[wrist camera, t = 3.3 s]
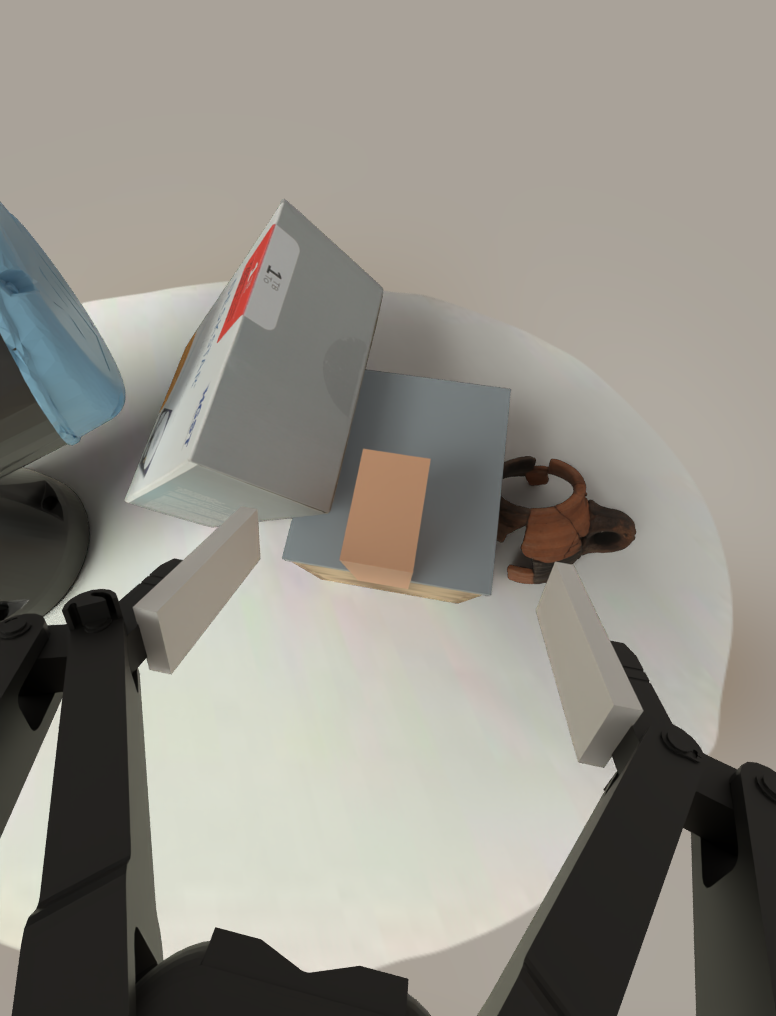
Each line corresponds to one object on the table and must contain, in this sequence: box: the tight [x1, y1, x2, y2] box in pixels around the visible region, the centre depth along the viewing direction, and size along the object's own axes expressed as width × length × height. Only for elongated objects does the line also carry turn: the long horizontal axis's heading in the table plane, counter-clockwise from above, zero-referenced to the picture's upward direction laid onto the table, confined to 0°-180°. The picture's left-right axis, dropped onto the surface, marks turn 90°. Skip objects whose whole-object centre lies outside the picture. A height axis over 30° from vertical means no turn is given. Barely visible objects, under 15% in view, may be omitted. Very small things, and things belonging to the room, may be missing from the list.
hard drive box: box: [125, 199, 383, 527], centre depth 28 cm, size 16×8×20 cm
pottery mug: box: [496, 456, 636, 584], centre depth 32 cm, size 12×10×8 cm
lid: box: [282, 369, 511, 596], centre depth 21 cm, size 13×14×8 cm
